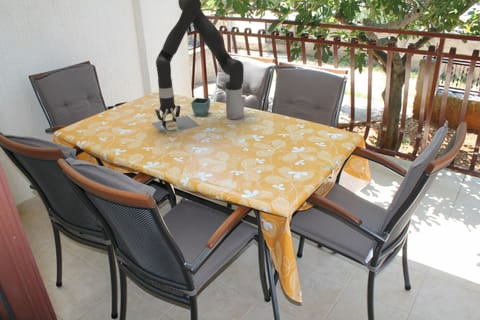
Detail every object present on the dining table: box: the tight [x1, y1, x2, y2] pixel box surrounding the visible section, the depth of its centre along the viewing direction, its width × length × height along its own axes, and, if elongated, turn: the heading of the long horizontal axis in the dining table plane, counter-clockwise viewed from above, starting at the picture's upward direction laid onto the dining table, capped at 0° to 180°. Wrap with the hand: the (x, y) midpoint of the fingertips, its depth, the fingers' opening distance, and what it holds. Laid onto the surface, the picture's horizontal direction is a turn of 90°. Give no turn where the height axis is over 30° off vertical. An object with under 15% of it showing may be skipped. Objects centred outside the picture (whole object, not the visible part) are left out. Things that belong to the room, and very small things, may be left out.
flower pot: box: [190, 97, 211, 117], centre depth 236 cm, size 9×9×9 cm
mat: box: [150, 115, 201, 135], centre depth 224 cm, size 22×19×1 cm
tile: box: [165, 117, 178, 131], centre depth 218 cm, size 10×5×3 cm, turn 30°
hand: (169, 125), depth 218 cm, fingers closed on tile, 4 cm apart
